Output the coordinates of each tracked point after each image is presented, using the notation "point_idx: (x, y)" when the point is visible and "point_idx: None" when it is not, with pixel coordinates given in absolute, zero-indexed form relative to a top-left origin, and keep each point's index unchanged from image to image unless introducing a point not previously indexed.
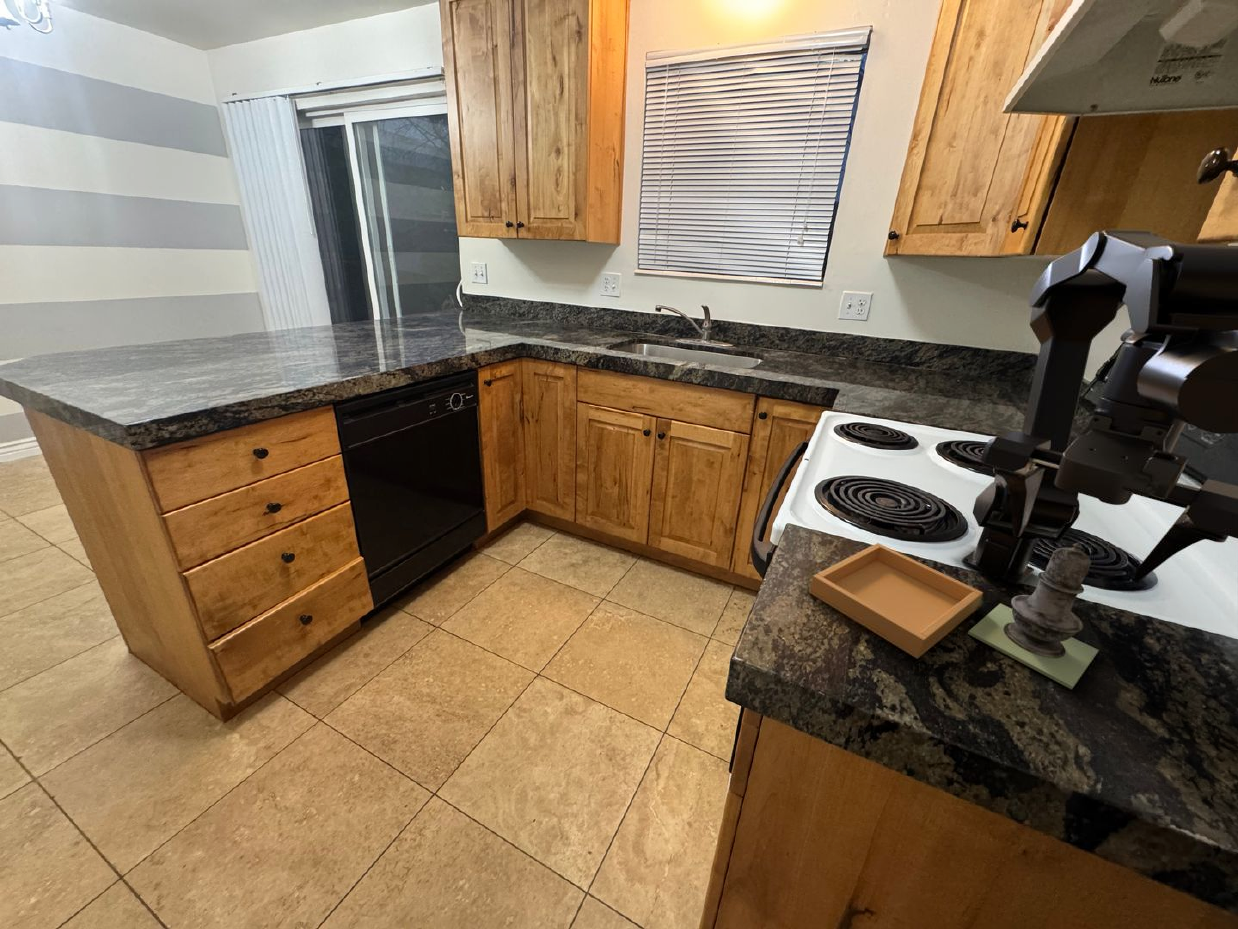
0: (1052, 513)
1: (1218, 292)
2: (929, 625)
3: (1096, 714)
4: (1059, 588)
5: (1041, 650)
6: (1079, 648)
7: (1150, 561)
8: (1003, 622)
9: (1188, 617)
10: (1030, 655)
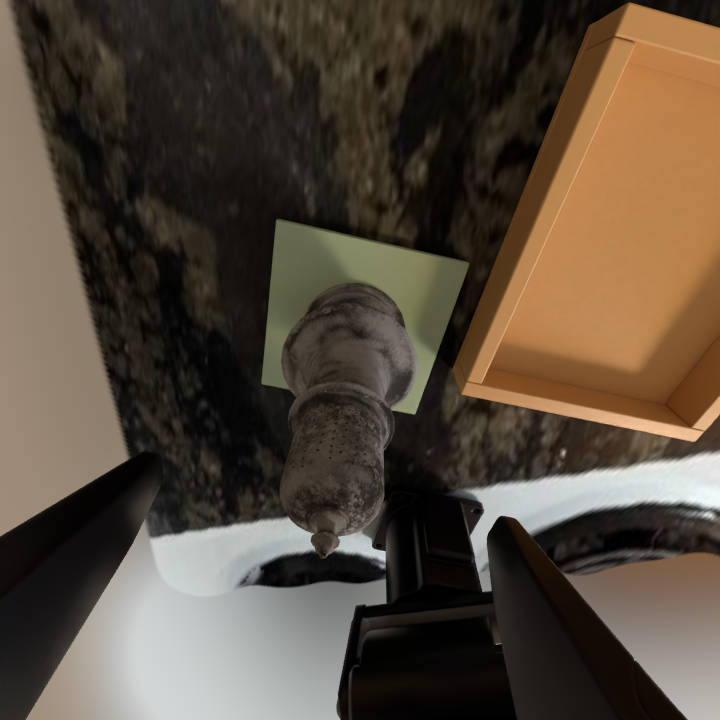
0: (392, 684)
1: None
2: (601, 119)
3: (231, 168)
4: (340, 386)
5: (338, 295)
6: None
7: (56, 527)
8: None
9: (191, 551)
10: (353, 270)
